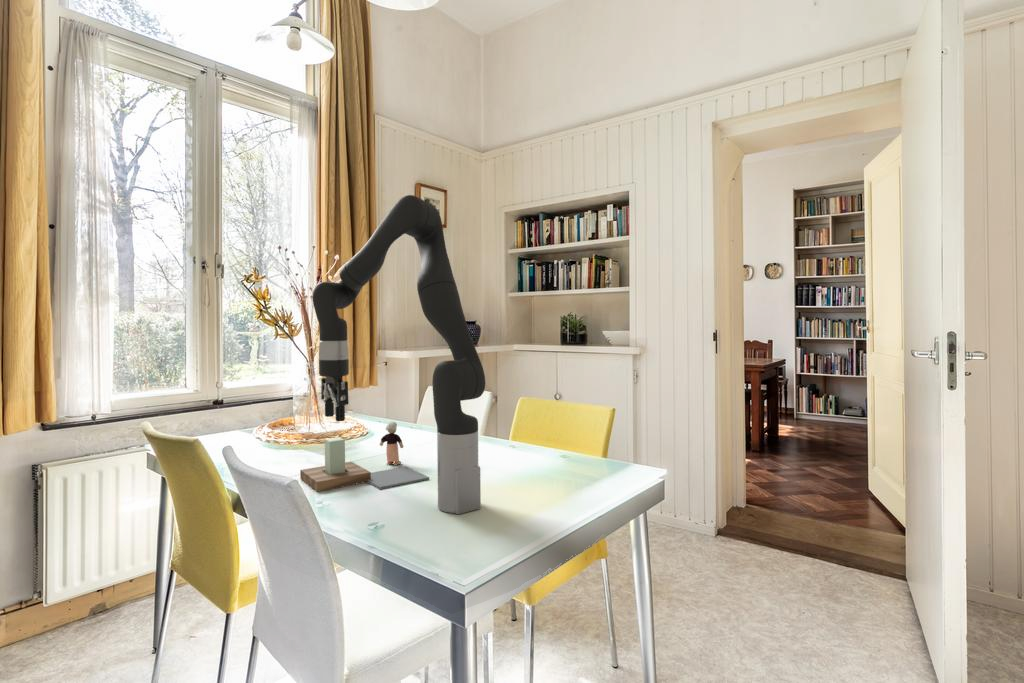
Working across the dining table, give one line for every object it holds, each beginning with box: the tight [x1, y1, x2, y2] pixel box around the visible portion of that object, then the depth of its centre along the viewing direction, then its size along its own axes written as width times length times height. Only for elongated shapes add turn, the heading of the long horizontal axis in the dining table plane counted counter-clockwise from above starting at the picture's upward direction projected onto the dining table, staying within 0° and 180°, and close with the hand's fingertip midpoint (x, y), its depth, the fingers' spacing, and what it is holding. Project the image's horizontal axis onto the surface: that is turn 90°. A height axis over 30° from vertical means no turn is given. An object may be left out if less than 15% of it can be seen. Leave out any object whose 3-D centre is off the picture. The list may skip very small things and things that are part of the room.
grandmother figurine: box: [379, 421, 404, 466], centre depth 158 cm, size 8×4×13 cm, turn 84°
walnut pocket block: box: [299, 461, 372, 493], centre depth 141 cm, size 14×14×2 cm
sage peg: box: [324, 436, 346, 475], centre depth 141 cm, size 4×4×11 cm
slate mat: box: [366, 465, 430, 490], centre depth 143 cm, size 14×14×1 cm
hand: (334, 418), depth 141 cm, fingers open, 8 cm apart
